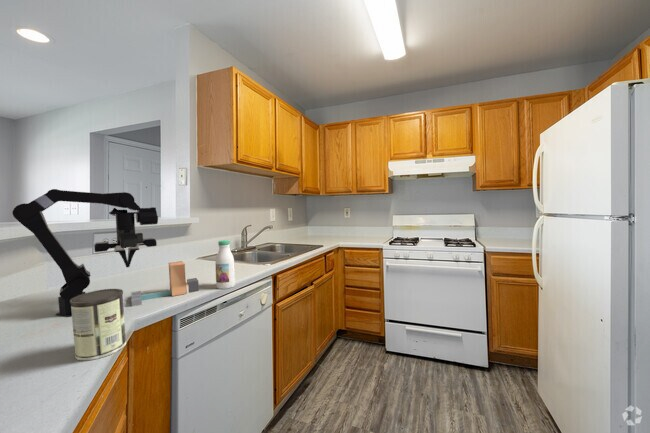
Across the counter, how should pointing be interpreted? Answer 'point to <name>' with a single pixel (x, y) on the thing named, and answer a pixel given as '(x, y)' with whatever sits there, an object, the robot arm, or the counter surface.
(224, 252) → the milk bottle
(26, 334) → the counter surface
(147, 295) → the cable comb run
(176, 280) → the sleeve
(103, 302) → the coffee can
